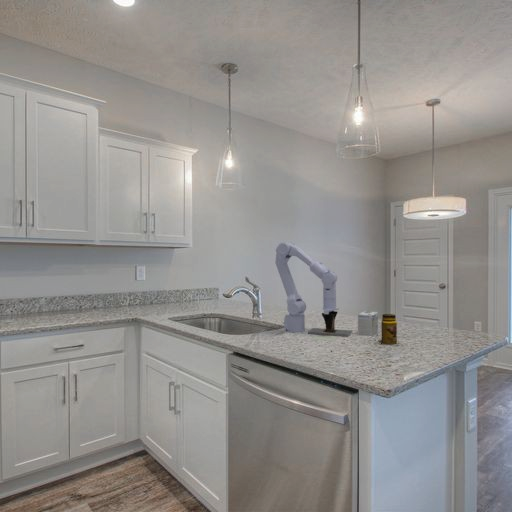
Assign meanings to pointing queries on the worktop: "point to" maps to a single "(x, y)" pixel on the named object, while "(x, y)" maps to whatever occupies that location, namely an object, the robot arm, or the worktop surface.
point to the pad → (324, 338)
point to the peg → (332, 326)
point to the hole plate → (330, 332)
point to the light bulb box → (368, 323)
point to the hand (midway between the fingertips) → (329, 328)
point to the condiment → (388, 330)
